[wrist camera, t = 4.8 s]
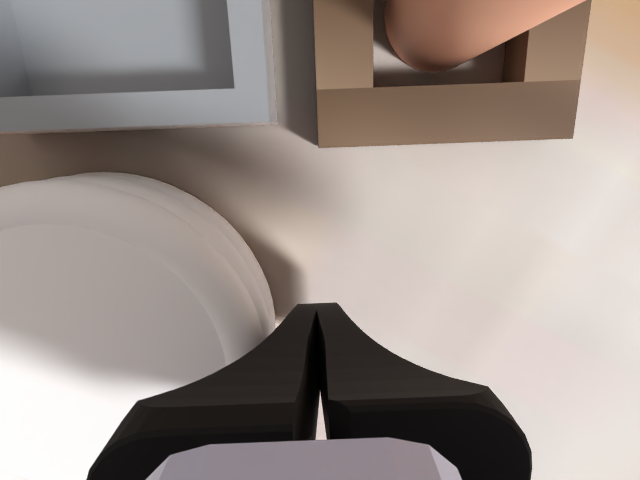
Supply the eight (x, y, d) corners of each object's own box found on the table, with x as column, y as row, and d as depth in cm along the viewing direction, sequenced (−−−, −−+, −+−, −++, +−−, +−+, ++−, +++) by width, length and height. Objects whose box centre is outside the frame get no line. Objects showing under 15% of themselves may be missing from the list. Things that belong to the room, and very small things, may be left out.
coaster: (110, 471, 15) (50, 569, 12) (-77, 266, 13) (-221, 313, 9) (328, 358, 14) (332, 431, 10) (165, 109, 11) (101, 97, 8)
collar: (546, 138, 11) (572, 138, 10) (318, 147, 11) (318, 148, 10) (579, -143, 10) (615, -182, 8) (307, -134, 10) (307, -171, 8)
